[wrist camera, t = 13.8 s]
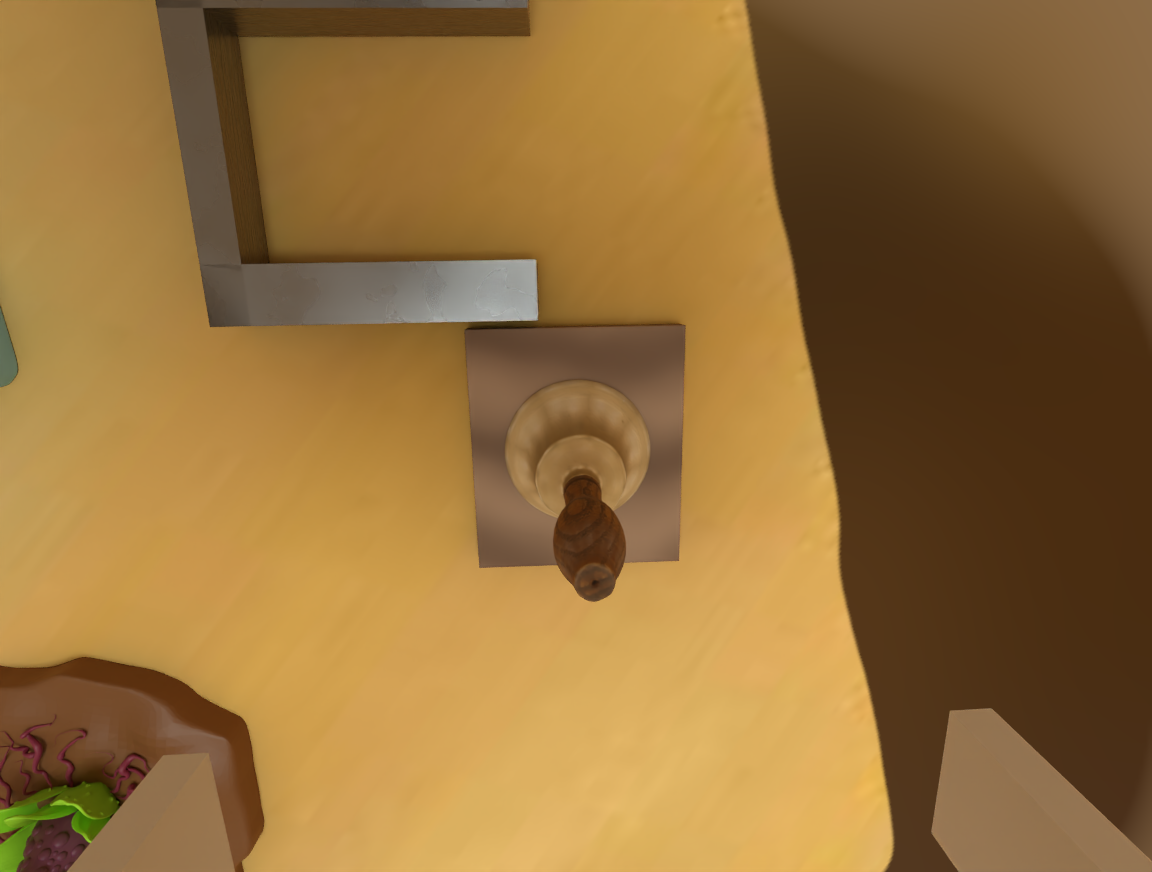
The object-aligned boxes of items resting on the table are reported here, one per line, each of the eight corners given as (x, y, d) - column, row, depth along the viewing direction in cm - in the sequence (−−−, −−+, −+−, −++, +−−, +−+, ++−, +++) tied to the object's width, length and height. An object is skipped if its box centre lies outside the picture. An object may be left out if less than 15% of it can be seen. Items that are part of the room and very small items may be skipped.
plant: (278, 677, 38) (168, 831, 27) (259, 908, 43) (159, 1119, 32) (-49, 634, 36) (-305, 779, 26) (-33, 878, 41) (-245, 1090, 30)
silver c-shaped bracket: (185, -35, 28) (143, -72, 25) (527, -34, 29) (525, -70, 26) (241, 323, 32) (210, 326, 29) (539, 317, 33) (537, 320, 30)
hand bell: (479, 481, 33) (418, 644, 18) (546, 352, 32) (541, 410, 16) (606, 541, 35) (650, 743, 19) (676, 421, 33) (786, 535, 18)
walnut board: (468, 328, 33) (464, 330, 31) (679, 324, 33) (685, 325, 32) (482, 556, 36) (479, 567, 35) (673, 550, 37) (678, 560, 35)
